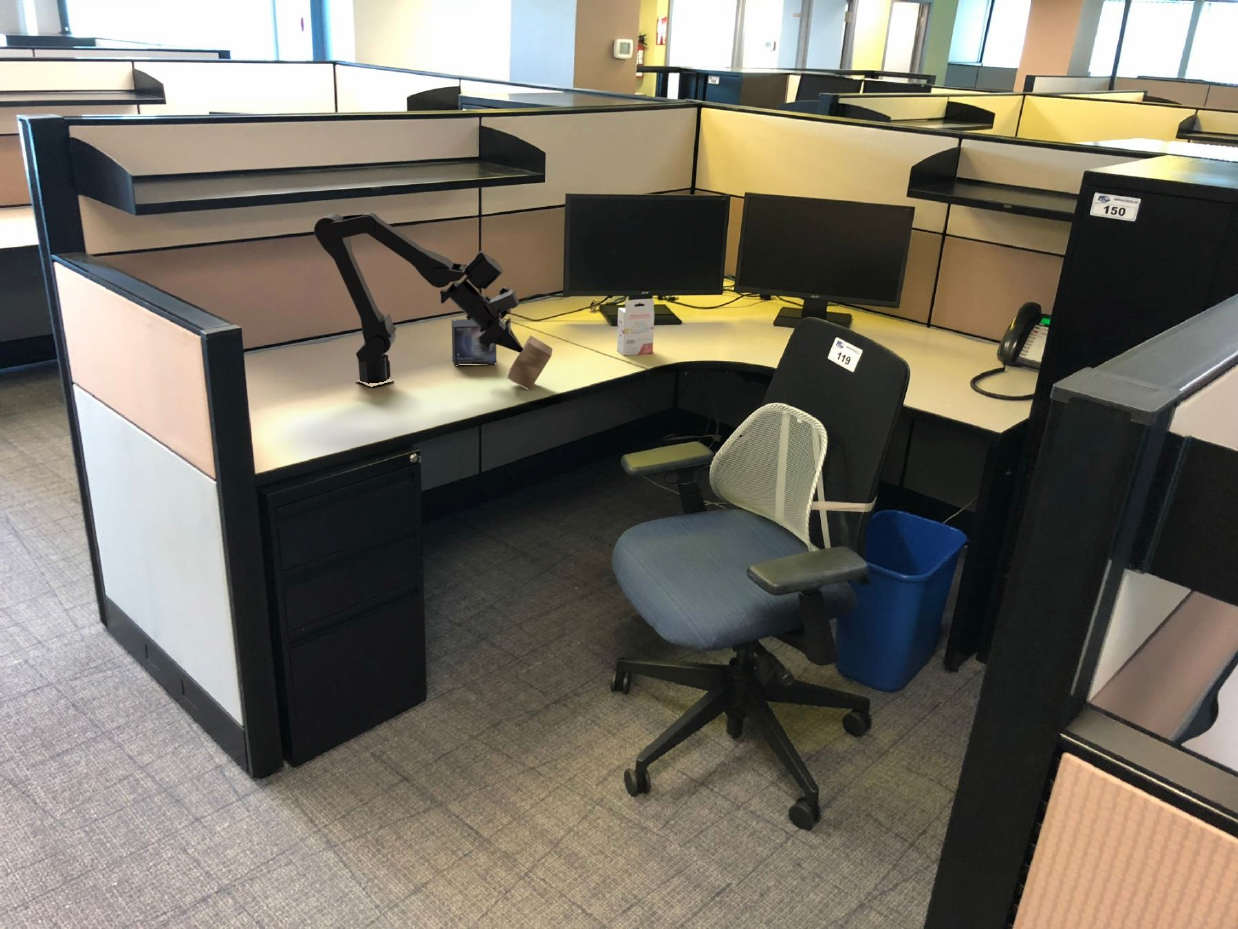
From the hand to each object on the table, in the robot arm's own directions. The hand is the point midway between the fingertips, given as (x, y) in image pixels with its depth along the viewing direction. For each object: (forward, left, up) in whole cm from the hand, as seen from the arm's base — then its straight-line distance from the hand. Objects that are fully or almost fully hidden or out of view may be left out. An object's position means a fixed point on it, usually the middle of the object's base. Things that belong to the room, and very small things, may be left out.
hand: (521, 350), depth 223 cm
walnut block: (0, 0, -7) cm, 7 cm away
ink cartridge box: (+41, -2, -9) cm, 42 cm away
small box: (+5, +21, -9) cm, 24 cm away
